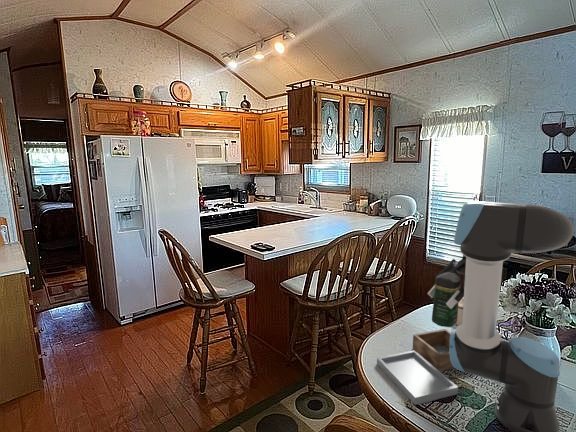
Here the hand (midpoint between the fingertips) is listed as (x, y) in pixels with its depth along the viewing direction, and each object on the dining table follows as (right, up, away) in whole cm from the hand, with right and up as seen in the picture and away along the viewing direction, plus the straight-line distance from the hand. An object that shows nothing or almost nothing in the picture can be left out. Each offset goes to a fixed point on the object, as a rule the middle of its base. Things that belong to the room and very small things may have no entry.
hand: (438, 300), depth 128 cm
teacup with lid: (+24, -17, +32) cm, 44 cm away
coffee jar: (+3, -9, +3) cm, 10 cm away
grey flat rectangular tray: (-12, -25, -8) cm, 28 cm away
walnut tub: (+3, -22, +5) cm, 23 cm away
